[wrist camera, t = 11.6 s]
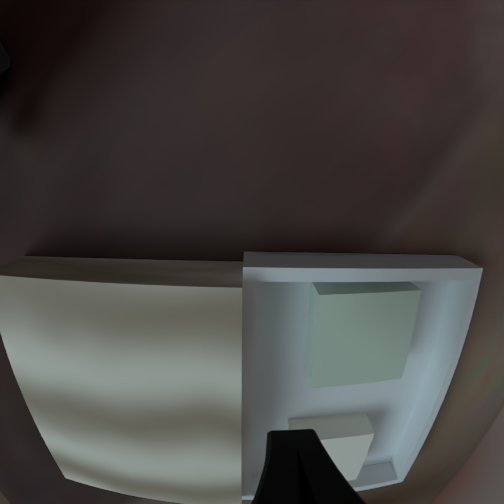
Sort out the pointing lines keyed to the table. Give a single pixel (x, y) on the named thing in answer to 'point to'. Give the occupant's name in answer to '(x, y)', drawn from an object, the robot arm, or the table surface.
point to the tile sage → (359, 331)
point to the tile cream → (341, 439)
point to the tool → (4, 60)
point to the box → (359, 395)
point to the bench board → (132, 370)
